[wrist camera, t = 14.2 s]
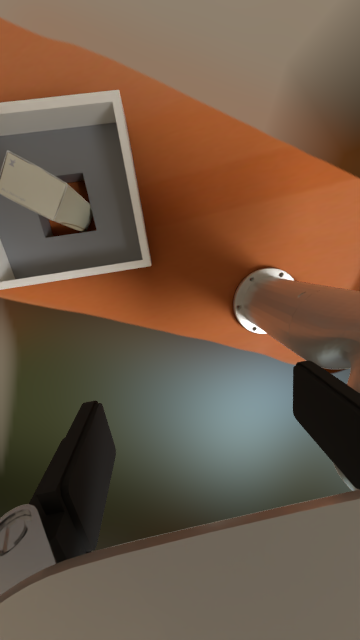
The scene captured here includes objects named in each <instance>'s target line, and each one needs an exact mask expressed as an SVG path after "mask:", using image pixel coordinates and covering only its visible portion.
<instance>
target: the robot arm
mask: <svg viewBox="0 0 360 640" xmlns="http://www.w3.org/2000/svg"><path fill="white" fill-rule="evenodd" d="M279 273H280V275H279ZM250 278H251V280H250ZM237 306H238V307H237ZM233 309H234V313H235V316H236V318H237V320H238V321H239V323H240V324H241V325H242V326H243V327H244V328H246V329H247V330H249V331H251V332H253V333H258V334H269V335H270V336H271V337H273V338H274V339H276V340H277V341H279V342H280V343H282V344H283V345H284V346H286V347H287V348H289V349H290V350H292V351H293V352H294V353H296V354H297V355H299V356H300V357H302V358H303V359H305V360H306V361H303V362H298V363H297V364H296V366H294V369H293V413H294V416H295V418H296V419H297V421H298V422H299V423H300V424H301V425H302V427H303V428H304V429H305V430H306V431H307V432H308V433H309V435H310V436H311V437H312V438H313V439H314V441H315V442H316V443H317V444H318V445H319V446H320V447H321V449H322V450H323V451H324V452H325V453H326V454H327V456H328V457H329V458H330V459H331V460H332V462H333V464H334V466H335V468H336V470H337V472H338V474H339V475H340V477H341V478H342V480H343V481H344V482H345V483H346V485H347V486H348V487H349V488H350V489H351V490H352V491H351V492H346V493H342V494H337V495H333V496H328V497H324V498H319V499H315V500H310V501H306V502H301V503H296V504H292V505H288V506H283V507H279V508H274V509H270V510H266V511H261V512H257V513H252V514H248V515H244V516H239V517H235V518H230V519H226V520H222V521H217V522H213V523H209V524H205V525H200V526H196V527H192V528H187V529H183V530H179V531H175V532H170V533H166V534H162V535H158V536H153V537H149V538H145V539H141V540H136V541H132V542H129V543H125V544H121V545H117V546H113V547H109V548H105V549H101V550H97V551H94V552H91V551H92V550H95V548H96V545H97V542H98V537H99V532H100V527H101V522H102V517H103V513H104V508H105V504H106V498H107V493H108V489H109V484H110V480H111V475H112V470H113V465H114V461H115V455H116V450H115V445H114V442H113V438H112V435H111V432H110V429H109V426H108V422H107V419H106V416H105V412H104V409H103V406H102V404H101V403H98V402H97V401H91V402H86V403H83V404H82V406H81V408H80V410H79V412H78V414H77V415H76V417H75V419H74V421H73V423H72V425H71V428H70V429H69V431H68V433H67V435H66V437H65V438H64V439H63V440H62V441H61V443H60V445H59V447H58V449H57V451H56V453H55V455H54V457H53V459H52V460H51V462H50V464H49V466H48V468H47V470H46V472H45V474H44V476H43V478H42V480H41V482H40V484H39V486H38V487H37V489H36V491H35V493H34V495H33V497H32V499H31V501H30V503H29V504H27V505H21V506H19V507H16V508H14V509H12V510H11V511H9V512H8V513H6V514H5V515H4V516H2V517H1V518H0V640H360V291H354V290H348V289H342V288H335V287H329V286H323V285H317V284H311V283H305V282H299V281H294V279H293V278H292V277H291V276H290V275H289V274H288V273H286V272H285V271H283V270H280V269H276V268H263V269H259V270H257V271H254V272H253V273H251V274H249V275H248V276H247V277H246V278H244V279H243V281H242V282H241V283H240V284H239V286H238V288H237V290H236V293H235V295H234V301H233ZM321 367H322V368H321ZM323 368H327V369H347V368H351V371H350V376H349V380H348V383H347V384H345V383H344V382H342V381H340V380H339V379H338V378H336V377H335V376H333V375H332V374H330V373H329V372H327V371H326V370H324V369H323Z"/></svg>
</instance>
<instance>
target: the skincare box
mask: <svg viewBox="0 0 360 640" xmlns="http://www.w3.org/2000/svg"><path fill="white" fill-rule="evenodd" d="M0 194H1V195H3V196H5V197H6V198H8V199H10V200H12V201H14V202H16V203H18V204H20V205H22V206H24V207H26V208H28V209H29V210H31V211H33V212H36V213H38V214H40V215H42V216H44V217H46V218H48V219H50V220H52V221H55V222H57V223H60V224H62V225H65V226H68V227H70V228H73V229H75V230H78V231H81V232H87V230H88V227H89V225H90V223H91V220H92V218H93V213H92V209H91V205H90V203H88V202H87V201H86V200H85V199H84V198H83V197H82V196H81V195H79V194H78V193H77V192H76V191H75V190H74V189H73V188H72V187H70V186H69V185H68V184H67V183H66V182H64V181H62V180H61V179H59V178H57V177H56V176H54V175H52V174H51V173H49V172H47V171H45V170H44V169H42V168H40V167H38V166H36V165H35V164H33V163H31V162H29V161H27V160H25V159H24V158H22V157H20V156H18V155H16V154H14V153H12V152H11V151H9V150H7V152H6V156H5V159H4V162H3V165H2V168H1V172H0Z"/></svg>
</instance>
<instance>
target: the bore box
mask: <svg viewBox="0 0 360 640" xmlns="http://www.w3.org/2000/svg"><path fill="white" fill-rule="evenodd" d="M7 150H9V151H11V152H12V153H14V154H16V155H18V156H20V157H22V158H24V159H25V160H27V161H29V162H31V163H33V164H35V165H36V166H38V167H40V168H42V169H44V170H45V171H47V172H49V173H51V174H52V175H54V176H56V177H57V178H59V179H61V180H62V181H64V182H66V183H69V182H77V181H85V184H86V189H87V193H88V197H89V201H90V205H91V209H92V213H93V217H94V221H95V225H96V231H89V232H83V233H76V234H69V235H62V236H55V237H54V236H53V233H52V230H51V226H50V223H49V220H48V218H46V217H44V216H42V215H40V214H38V213H36V212H33V211H31V210H29V209H28V208H26V207H24V206H22V205H20V204H18V203H16V202H14V201H12V200H10V199H8V198H6V197H5V196H3V195H1V194H0V290H1V289H8V288H14V287H20V286H27V285H33V284H40V283H46V282H52V281H59V280H65V279H72V278H78V277H84V276H91V275H97V274H103V273H110V272H116V271H123V270H129V269H135V268H142V267H148V266H151V265H152V261H151V255H150V250H149V244H148V239H147V233H146V228H145V222H144V216H143V211H142V205H141V200H140V194H139V189H138V183H137V178H136V172H135V167H134V161H133V155H132V150H131V144H130V139H129V133H128V128H127V123H126V119H125V114H124V110H123V105H122V101H121V97H120V92H119V90H112V91H103V92H94V93H85V94H76V95H66V96H57V97H48V98H39V99H30V100H21V101H12V102H2V103H0V172H1V168H2V165H3V162H4V159H5V156H6V152H7Z"/></svg>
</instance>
